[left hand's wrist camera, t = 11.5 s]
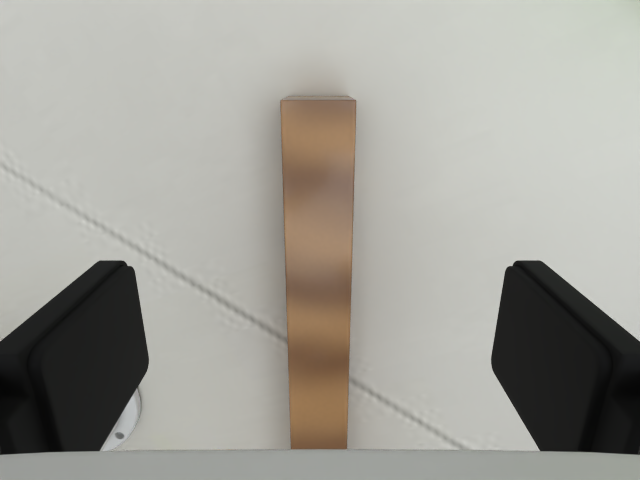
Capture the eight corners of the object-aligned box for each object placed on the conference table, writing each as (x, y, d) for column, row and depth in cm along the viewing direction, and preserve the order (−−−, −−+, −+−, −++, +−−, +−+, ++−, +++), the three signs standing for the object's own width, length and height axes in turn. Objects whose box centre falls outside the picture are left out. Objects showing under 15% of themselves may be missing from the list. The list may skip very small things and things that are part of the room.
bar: (287, 96, 33) (280, 100, 27) (349, 96, 33) (356, 100, 27) (299, 583, 52) (297, 650, 46) (338, 583, 52) (341, 650, 46)
